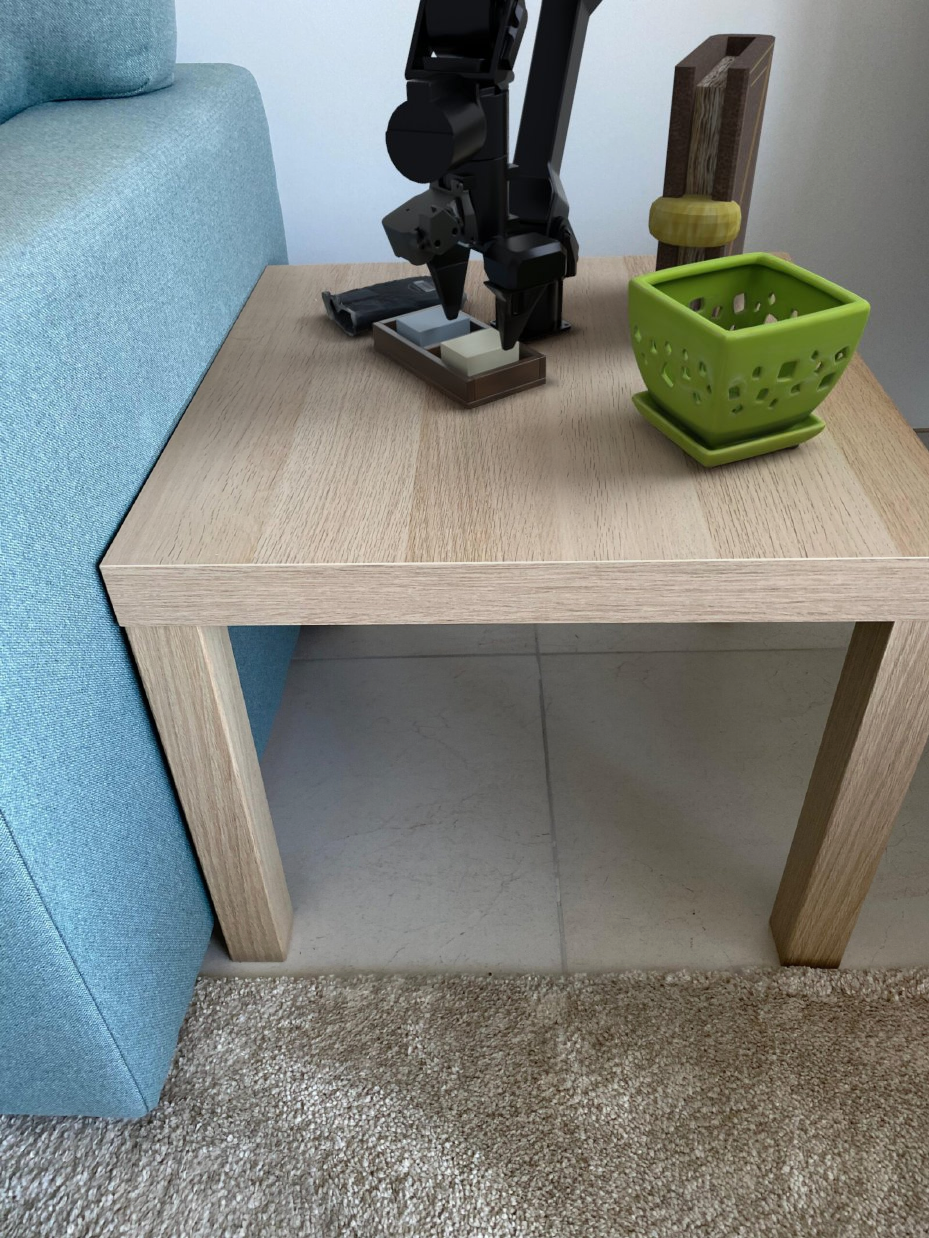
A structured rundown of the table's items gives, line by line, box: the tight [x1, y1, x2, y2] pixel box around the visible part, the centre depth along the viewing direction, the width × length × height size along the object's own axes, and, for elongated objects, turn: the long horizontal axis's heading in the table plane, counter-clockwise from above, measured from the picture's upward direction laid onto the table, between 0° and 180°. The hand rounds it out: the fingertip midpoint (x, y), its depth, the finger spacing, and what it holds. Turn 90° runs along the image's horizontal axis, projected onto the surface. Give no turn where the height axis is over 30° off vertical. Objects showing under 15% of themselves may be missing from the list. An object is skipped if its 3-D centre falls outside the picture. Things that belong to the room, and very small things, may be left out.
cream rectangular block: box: [441, 328, 519, 377], centre depth 90 cm, size 6×4×3 cm
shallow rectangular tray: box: [372, 305, 547, 410], centre depth 93 cm, size 9×17×3 cm, turn 34°
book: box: [647, 33, 776, 317], centre depth 93 cm, size 22×8×25 cm, turn 159°
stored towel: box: [396, 306, 470, 348], centre depth 95 cm, size 6×4×3 cm
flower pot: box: [627, 251, 871, 469], centre depth 77 cm, size 14×14×13 cm
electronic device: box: [320, 275, 469, 337], centre depth 103 cm, size 9×6×15 cm
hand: (479, 333), depth 88 cm, fingers open, 9 cm apart
